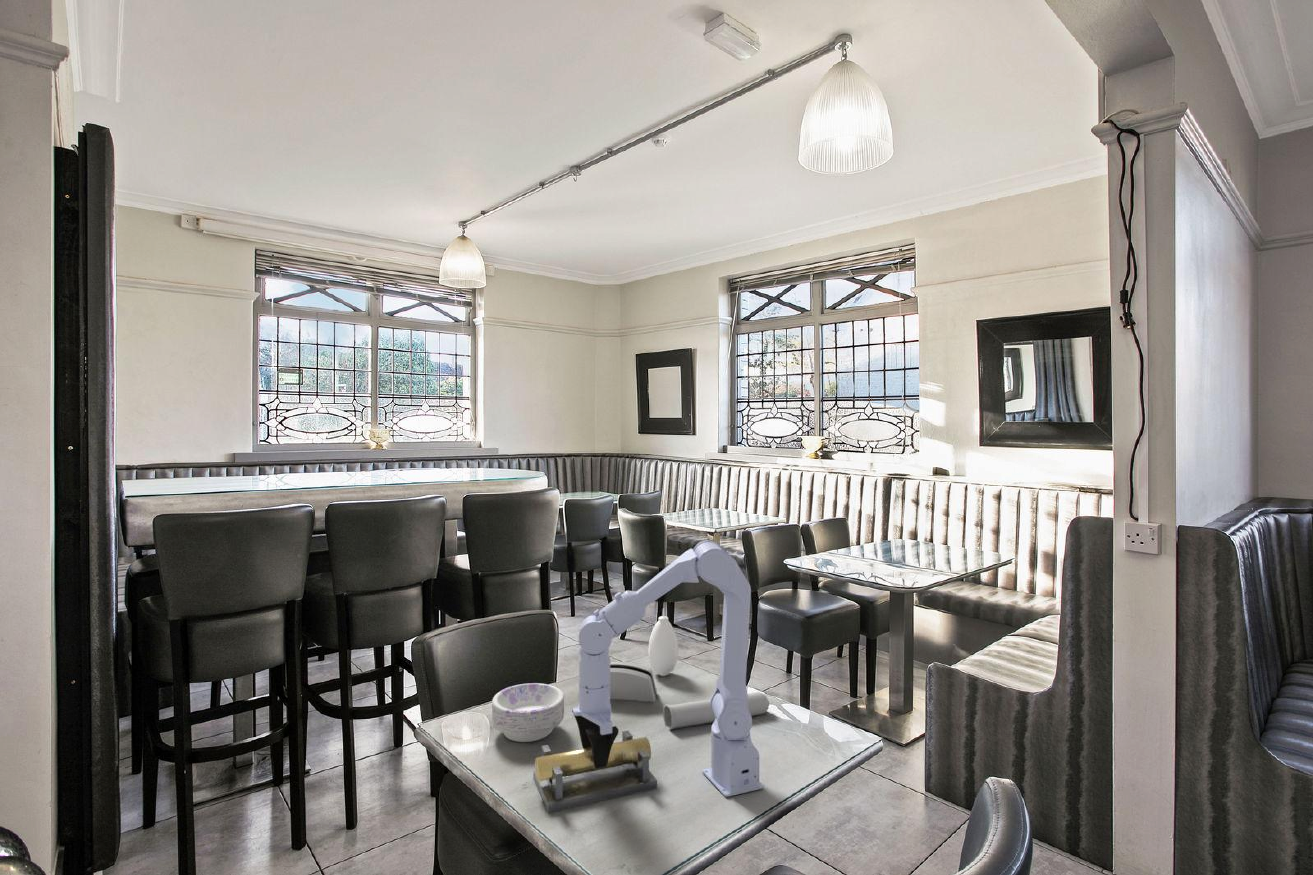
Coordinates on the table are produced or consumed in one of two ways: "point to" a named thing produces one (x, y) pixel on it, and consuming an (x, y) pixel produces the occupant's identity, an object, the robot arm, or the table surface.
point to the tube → (706, 711)
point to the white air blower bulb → (663, 647)
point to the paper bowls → (527, 711)
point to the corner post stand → (595, 782)
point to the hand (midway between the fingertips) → (594, 756)
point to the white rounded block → (631, 682)
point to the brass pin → (590, 759)
